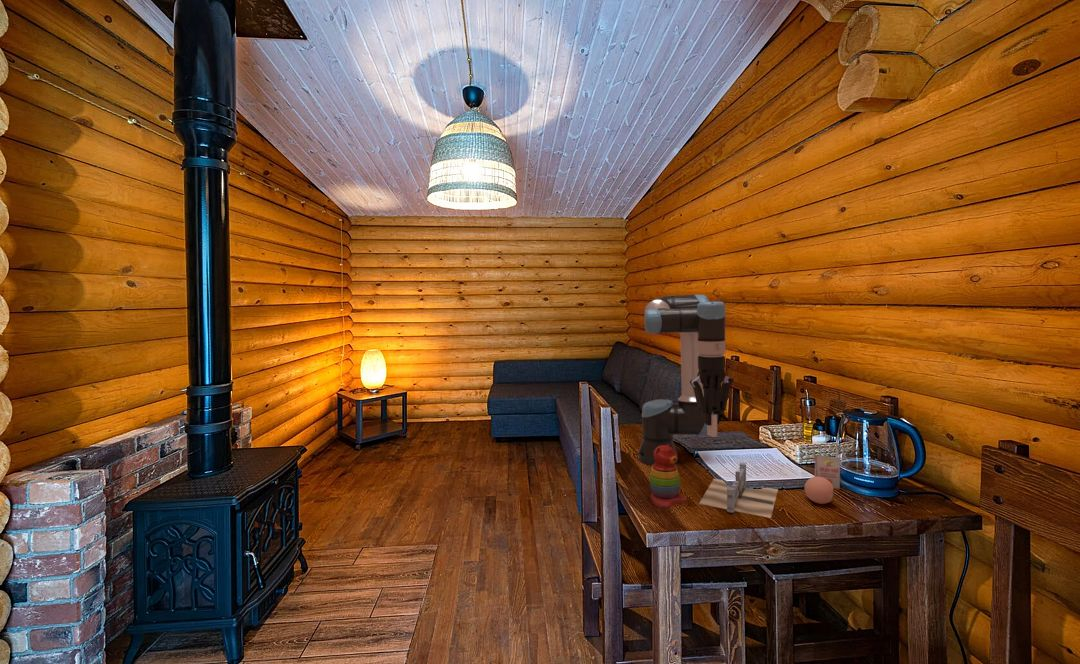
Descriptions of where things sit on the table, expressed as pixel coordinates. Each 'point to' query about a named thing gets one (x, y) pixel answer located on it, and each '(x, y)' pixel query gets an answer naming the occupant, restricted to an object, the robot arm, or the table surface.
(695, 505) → the table surface
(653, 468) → the stacking bear
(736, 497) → the gray castle wall
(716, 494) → the board
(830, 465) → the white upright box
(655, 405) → the robot arm
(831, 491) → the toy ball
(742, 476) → the fixed fence panel
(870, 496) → the table surface
